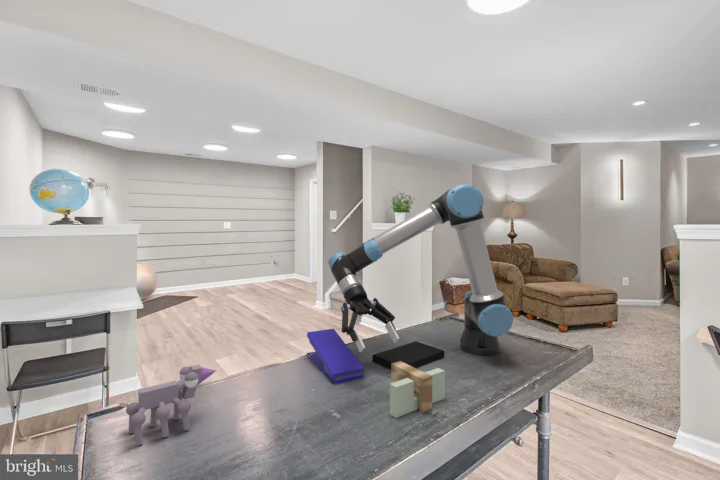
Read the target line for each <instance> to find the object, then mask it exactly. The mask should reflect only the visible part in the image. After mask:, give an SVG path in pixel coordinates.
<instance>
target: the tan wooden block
mask: <svg viewBox="0 0 720 480" xmlns="http://www.w3.org/2000/svg"><path fill="white" fill-rule="evenodd" d="M390 372H391V373H390V383H393V382H397V381H400V380H403V379H406V378H409V379H411V380H413V381H414V394H415V393H417V392H419V409H418V410H419V412H420V413H422V414H425V413H426V412H429V411H431V410H433V403H432V376H431V375H429V374H427V373H425V372H426V371H422V370H420V369H418V368H414V367H412V366H410V365H408V364H406V363H404V362H401V361H399V362H395V363H392V364H391V370H390Z"/></svg>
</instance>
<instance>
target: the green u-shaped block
mask: <svg viewBox="0 0 720 480" xmlns="http://www.w3.org/2000/svg"><path fill="white" fill-rule="evenodd" d="M424 372H425V373H427V374H429V375H431V376H432V404H434V403H437V402H439V401H442V400H445V399H446V395H445V394H446V370H444V369H443V368H442V369H441V368H440V367H436V368H433V369H431V370H428V371H424ZM417 410H419V392H417V393H415V394H414V381H413V380H411V379H409V378H406V379H403V380H400V381H397V382H393V383H391V382H390V383H389V414H390V415H391V416H392V417H393V418H400V417H402V416H405V415H408V414H410V413H412V412H415V411H417Z"/></svg>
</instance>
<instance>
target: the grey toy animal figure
mask: <svg viewBox="0 0 720 480" xmlns="http://www.w3.org/2000/svg"><path fill="white" fill-rule="evenodd" d="M216 372H217V370H216V369H211V368H207V367H202V366H201V364H195V365H190V366H184V367H181V369H180V370H179V379H178V380H177V381H176V380H172V381H168V382H164V383H160V384H155V385H152V386H148V387H143V388H139V389H138V390H137V395H138V396H137V397H138V402H137V401H132V402H130V403H129V404H128V405H127V406H126V409H125V412H126V414H127V416H128V434H129V433H131V434H134V438H135V445H136V446H140V445H142V444H143V443H144V437H143V430H142V426H143V425H144V423H145V422H146V418H147V416H146V415H145V412H146V410H149V409H150V420H149V421H150V425H149V426H150V428H151V427H152V428H153V427H154V428H155V427H156V426H157V421H160V427H161V433H162V438H167V437H169V435H170V432H169V431H170V430H169V423H168V417H169V416H170V412H171V411H170V408H169V407H168V406H166V405H168V404H173V420H175V421H177V420H180V419H181V417H180V416H182V426H183V431H184V432H185V431H189V430H190V429H191V425H190V424H191V423H190V417H189V411H190V409H191V407H192V406H191V403H190V401H189V400H187V399H192V398H194V397H195V394H196V391H197V387H198V386H199V385H200V384H202V383H203V382H204V381H206V380H207V379H208V378H210V376H212V375H213V374H215V373H216ZM180 414H181V415H180ZM134 432H135V433H134ZM131 434H130V435H131Z"/></svg>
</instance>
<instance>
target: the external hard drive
mask: <svg viewBox="0 0 720 480" xmlns="http://www.w3.org/2000/svg"><path fill="white" fill-rule="evenodd" d="M371 356H372V360H371V361H372V363H375V364H377V365H379V366H381V367H384V368H386V369H388V370H390V371H391V364H392V363H395V362H399V361H401V362H404V363H406V364H408V365H410V366H412V367H414V368H416V369H418V368H420V367H423V366H426V365H428V364H432V363H433V362H436V361H439V360H441V359H444V358H445V350H444V349H441V348H438V347H435V346H431V345H429V344H425V343H423V342H419V341H413V342H409V343H405V344H403V345H400V346H397V347H393V348H390V349H386V350H383V351H381V352H377V353H374V354H372V355H371Z"/></svg>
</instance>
